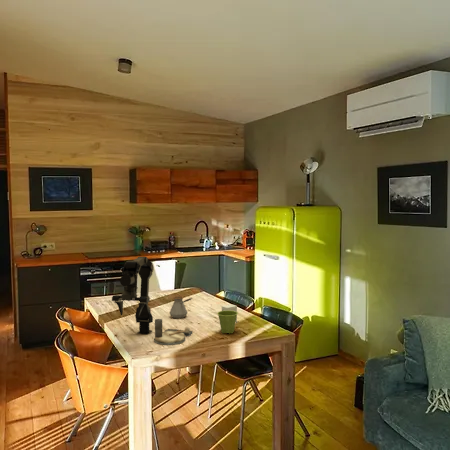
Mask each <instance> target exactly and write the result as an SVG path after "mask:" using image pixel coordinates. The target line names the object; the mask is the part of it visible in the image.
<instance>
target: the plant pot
mask: <svg viewBox="0 0 450 450" xmlns="http://www.w3.org/2000/svg"><path fill="white" fill-rule="evenodd" d="M216 314H217V316H218V320H219V326H220V331H221V333H222V334H224V333H229V334H233V332H234V333H235V327H236V323H237V322H236V317H237V318H238V314H239V312H238V311H237V312H236V311H229V310H226V311H222V310H220V311H218V312H217V313H216ZM235 322H236V323H235Z"/></svg>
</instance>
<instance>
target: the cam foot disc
mask: <svg viewBox="0 0 450 450" xmlns="http://www.w3.org/2000/svg"><path fill="white" fill-rule="evenodd" d="M181 330H182V331H178V332H177V331H166V332H164V331H163V319H162V318H156V319H154V338H155V340H156V341H158V342H163V343H173V342H179V341H182V340H183V339H184V338H186V336H185V335H184V333H182V332H189V331H191V329H190V327H189V326H186V327H185V328H184V329H181Z"/></svg>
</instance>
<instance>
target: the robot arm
mask: <svg viewBox="0 0 450 450" xmlns="http://www.w3.org/2000/svg"><path fill="white" fill-rule="evenodd" d="M153 272H154V264H153V262H152V261H151V260H149V258H148V257H147V256H138V257H137V258H135V259H132V260H127V261H125V263H124V265H123V268H122V272H121V274H122V275H121V277H120V279H119V283H120V285H121V286H122V287H124V291H123V292H122V293H121V294H114V295H112V296H111V301H112V302H113V303H114V304H116V305H117V307H118V310H119V314H120V316H123V312H124V301H127V302H131V301H132V302H133V301H134V302H138V306H137V307H136V309H135V311H136V312H135V323H138V324H139V326H138V329H139V331H137V332H136V334H139V335H140V334H141V335H148V334H150V333H151V332H153V330H151V328H150V324H151V323H153V322H154V316H153V314H152V312H151V308H150V305H149V303H150V296H149V292H150V291H149V290H150V279H151V277H152V276H153ZM138 275H139V278H140V293H139V294H140V295H139V297H138Z"/></svg>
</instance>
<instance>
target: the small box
mask: <svg viewBox="0 0 450 450" xmlns="http://www.w3.org/2000/svg"><path fill="white" fill-rule="evenodd" d="M226 310H229V311H236V312H238V306H237V305H235V304H230V303H229V304H227V305H222V306H221V311H226ZM236 323H238V316H237V317H236Z"/></svg>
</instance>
